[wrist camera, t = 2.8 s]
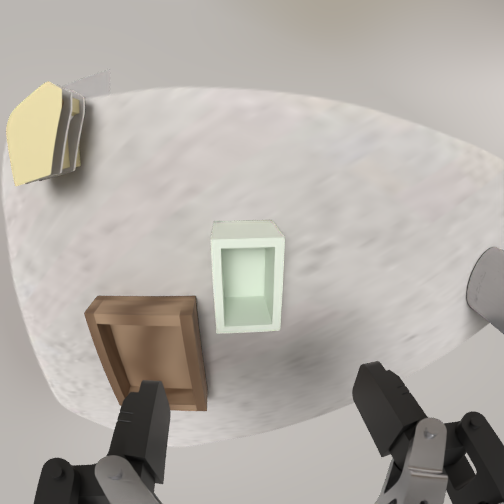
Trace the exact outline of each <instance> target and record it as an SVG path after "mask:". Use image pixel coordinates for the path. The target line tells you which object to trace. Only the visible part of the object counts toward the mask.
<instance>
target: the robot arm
mask: <svg viewBox="0 0 504 504" xmlns="http://www.w3.org/2000/svg"><path fill="white" fill-rule="evenodd" d="M467 301H468V304H469V306H470V307H471V308H472V309H474V310H475V311H476V312H477V313H479V314H480V315H481V316H482V317H484V318H485V319H486V320H487V321H489V322H490V323H491V324H492V325H493V326H495V327H496V328H497V329H499V331H501V332H502V333H503V334H504V251H503V250H501V249H499V248H497V247H492V248H490V249H488V250H487V251H486V252H485V253H484V254H483V255H482V256H481V258H480V259H479V261H478V262H477V264H476V266H475V268H474V270H473V272H472V275H471V278H470V281H469V285H468V289H467ZM352 394H353V400H354V402H355V404H356V406H357V408H358V410H359V412H360V414H361V416H362V418H363V420H364V422H365V424H366V426H367V428H368V430H369V432H370V434H371V436H372V438H373V440H374V442H375V444H376V446H377V448H378V450H379V453H380V455H381V457H384V456H387V455H389V454H391V455H392V457H393V459H392V460H391V463H390V466H389V470H388V473H387V476H386V479H385V482H384V485H383V488H382V491H381V493H380V495H379V497H378V499H377V501H376V502H375V504H443V503H444V498H445V493H446V490H447V492H448V495H449V497H450V499H451V501H452V504H504V445H503V444H502V442H501V441H500V439H499V438H498V436H497V435H496V433H495V432H494V430H493V429H492V427H491V426H490V424H489V423H488V422H487V420H486V419H485V417H484V416H483V415H482V414H480V413H478V412H469V413H466V414H465V415H464V417H463V418H462V419H461V421H458V422H452V423H445V424H443V422H441V421H440V420H438V419H435V418H428V417H427V416H426V414H425V413H424V412H423V410H422V409H421V407H420V406H419V405H418V403H417V401H416V400H415V398H414V397H413V396H412V394H411V393H409V390H408V388H407V387H406V386H405V384H404V383H403V381H402V380H401V379H400V377H399V376H398V375H396V374H395V373H393V372H392V371H390V370H388V371H386V370H385V369H384V367H383V366H382V364H381V363H380V362H378V361H376V362H371V363H367V364H362V365H361V366H360V368H359V371H358V374H357V377H356V381H355V384H354V387H353V391H352ZM169 424H170V406H169V402H168V399H167V396H166V393H165V389H164V386H163V383H162V381H152V380H143V381H142V382H141V385H140V389H139V392H130V393H129V394H128V396H127V397H126V398H125V399H124V400H123V403H122V406H121V409H120V413H119V416H118V422H117V423H116V427H115V430H114V434H113V437H112V441H111V445H110V449H109V452H108V454H107V456H106V457H104V458H102V459H100V460H99V461H98V463H96V464H92V465H76V466H72V465H70V463H69V462H67V461H66V460H64V459H61V458H53V459H50V460H48V461H47V462H46V463H45V464H44V466H43V468H42V472H41V475H40V479H39V483H38V487H37V491H36V495H35V500H34V504H162V502H161V501H160V500H159V499H158V497H157V496H156V495H155V493H154V486H155V483H159V484H163V481H164V469H165V458H166V449H167V441H168V432H169ZM466 453H467V454H468V455H469V457H470V459H471V461H472V462H473V464H474V466H475V468H476V471H477V473H476V475H475V473H474V471H473V469H472V467H471V466H470V464H469V462H468V460H467V458H466V457H465V454H466Z"/></svg>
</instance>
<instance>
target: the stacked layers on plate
mask: <svg viewBox="0 0 504 504" xmlns="http://www.w3.org/2000/svg"><path fill="white" fill-rule="evenodd" d="M107 95H110V69H109V70H105V71H103V72H99V73H96V74H93V75H90V76H88V77H85V78H82V79H79V80H76V81H74V82H71V83H69V84H66V85H64V86H60V85H54V84H52V83H50V82H46V83H44V84H43V85H41V86H40V87H39V88H38V89H36V91H34V92H33V93H32V94H31V95H29V96H28V97H27V98H26V99H25V100H24V101H22V103H20V104H19V105H18V106H17V107H16V108H15V109H14V110H13V112H12V113H11V115H10V117H9V119H8V123H7V129H6V135H7V143H8V150H9V157H10V163H11V168H12V173H13V178H14V183H15V186H19V185H22V184H24V183H25V184H28V183H31V182H34V181H37V180H39V181H42V180H45V179H48V178H52V177H55V176H58V175H62V174H65V173H69V172H72V171H75V167H78V166H81V162H80V152H79V140H80V135H81V129H82V124H83V120H84V115H85V99H86V98H94V97H99V96H107Z"/></svg>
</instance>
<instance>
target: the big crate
mask: <svg viewBox="0 0 504 504" xmlns="http://www.w3.org/2000/svg"><path fill="white" fill-rule="evenodd" d="M84 314H85V318H86V321H87V324H88V327H89V330H90V333H91V336H92V339H93V342H94V345H95V347H96V350H97V353H98V356H99V358H100V361H101V363H102V366H103V368H104V371H105V373H106V376H107V378H108V380H109V383H110V385H111V387H112V389H113V391H114V394H115V396H116V398H117V400H118V402H119V404H120V406H122V403H123V400H124V399H125V398H126V397H127V396H128V394H129V393H130V392H139V389H140V385H141V382H142V381H143V380H152V381H162V383H163V386H164V389H165V393H166V396H167V399H168V402H169V406H170V410H180V411H207V390H208V389H207V383H206V376H205V370H204V363H203V355H202V348H201V340H200V332H199V323H198V315H197V305H196V296H97V297H96V298H95V300H94V301H93V302H92V303H91V305H90V306H89V307H88V309H87V310H86V311H85V313H84Z"/></svg>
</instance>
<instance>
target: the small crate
mask: <svg viewBox="0 0 504 504" xmlns="http://www.w3.org/2000/svg"><path fill="white" fill-rule="evenodd" d="M284 245H285V237H284V236H283V235H282V233H281V232H280V230H279V229H278V228H277V226H276V225H275V224H274V222H273V221H272V220H250V221H214V223H213V228H212V234H211V258H212V276H213V292H214V306H215V320H216V332H217V334H223V333H247V332H265V331H279V330H280V324H281V308H282V289H283V269H284Z"/></svg>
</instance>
